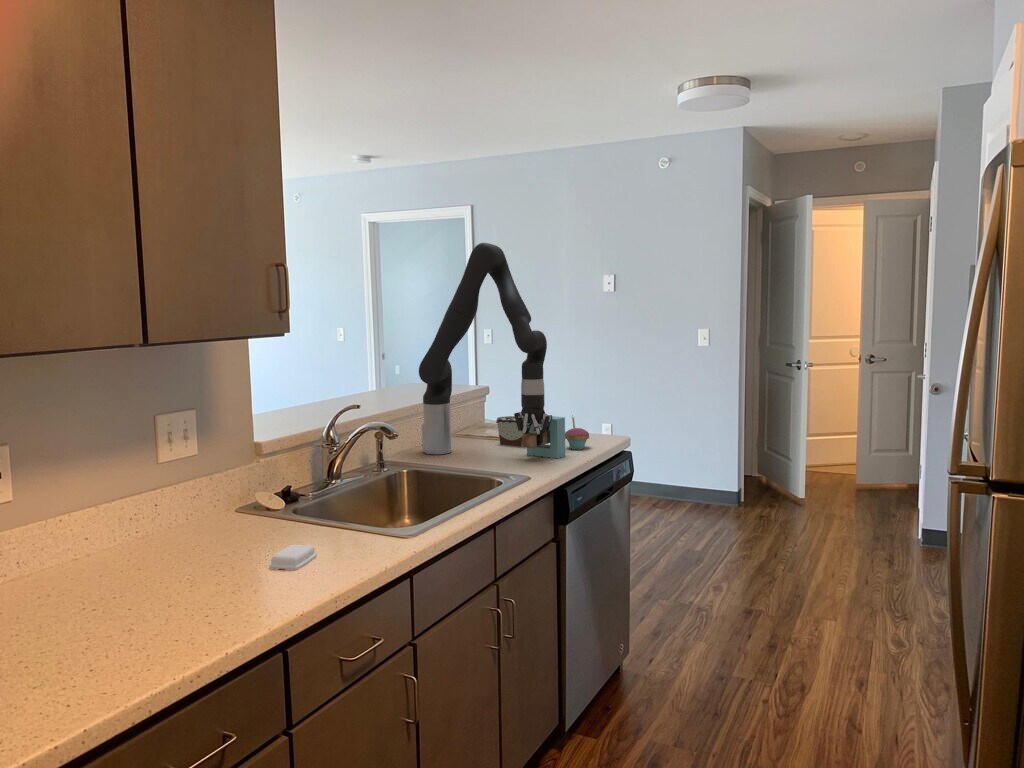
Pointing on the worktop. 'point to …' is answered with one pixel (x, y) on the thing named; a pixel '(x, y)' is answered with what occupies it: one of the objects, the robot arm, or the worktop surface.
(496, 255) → the robot arm
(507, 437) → the food container
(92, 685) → the worktop surface
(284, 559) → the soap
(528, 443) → the brown rectangular block
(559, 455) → the light blue hollow block
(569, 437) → the cupcake
